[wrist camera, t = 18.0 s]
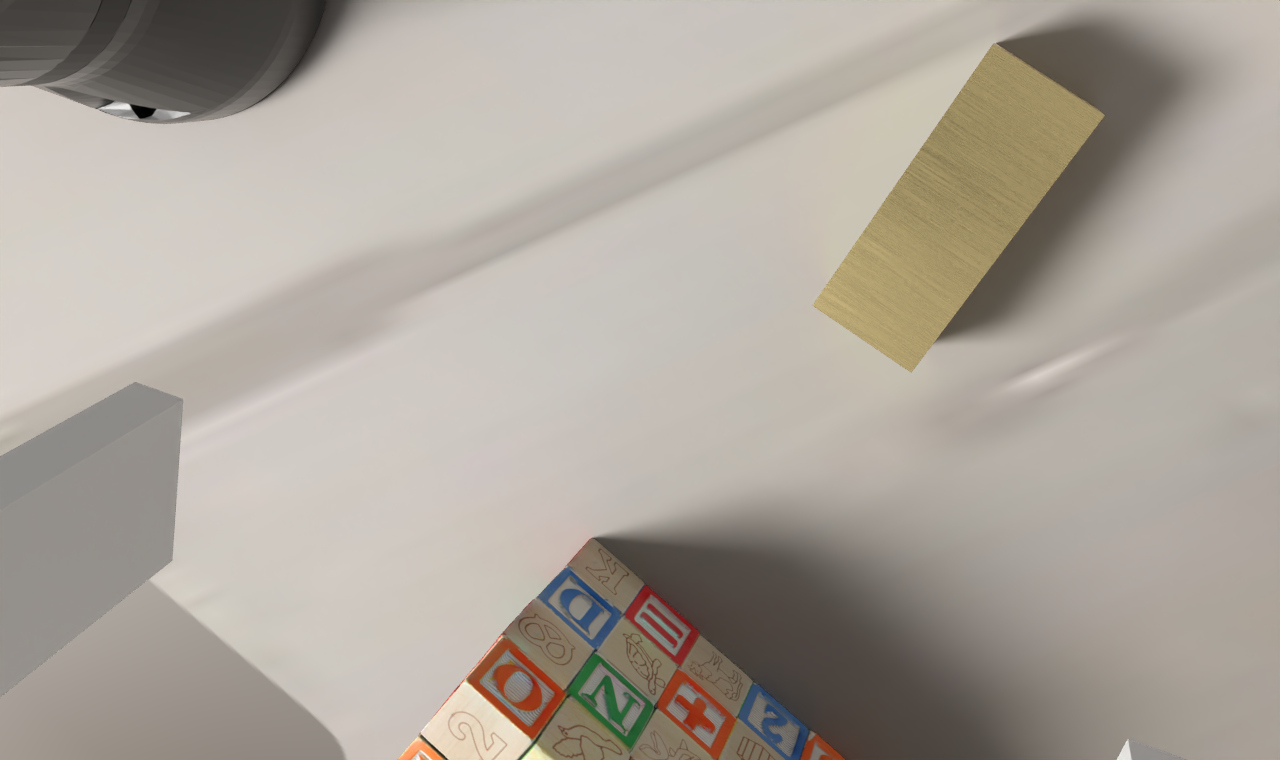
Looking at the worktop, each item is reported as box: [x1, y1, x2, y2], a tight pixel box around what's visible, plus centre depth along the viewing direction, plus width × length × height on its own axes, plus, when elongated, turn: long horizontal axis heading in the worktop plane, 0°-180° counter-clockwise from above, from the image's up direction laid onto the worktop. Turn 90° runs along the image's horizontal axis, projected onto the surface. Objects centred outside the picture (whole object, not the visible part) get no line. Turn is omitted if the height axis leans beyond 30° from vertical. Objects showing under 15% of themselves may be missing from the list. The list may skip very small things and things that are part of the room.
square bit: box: [813, 43, 1105, 372], centre depth 39 cm, size 4×4×10 cm
